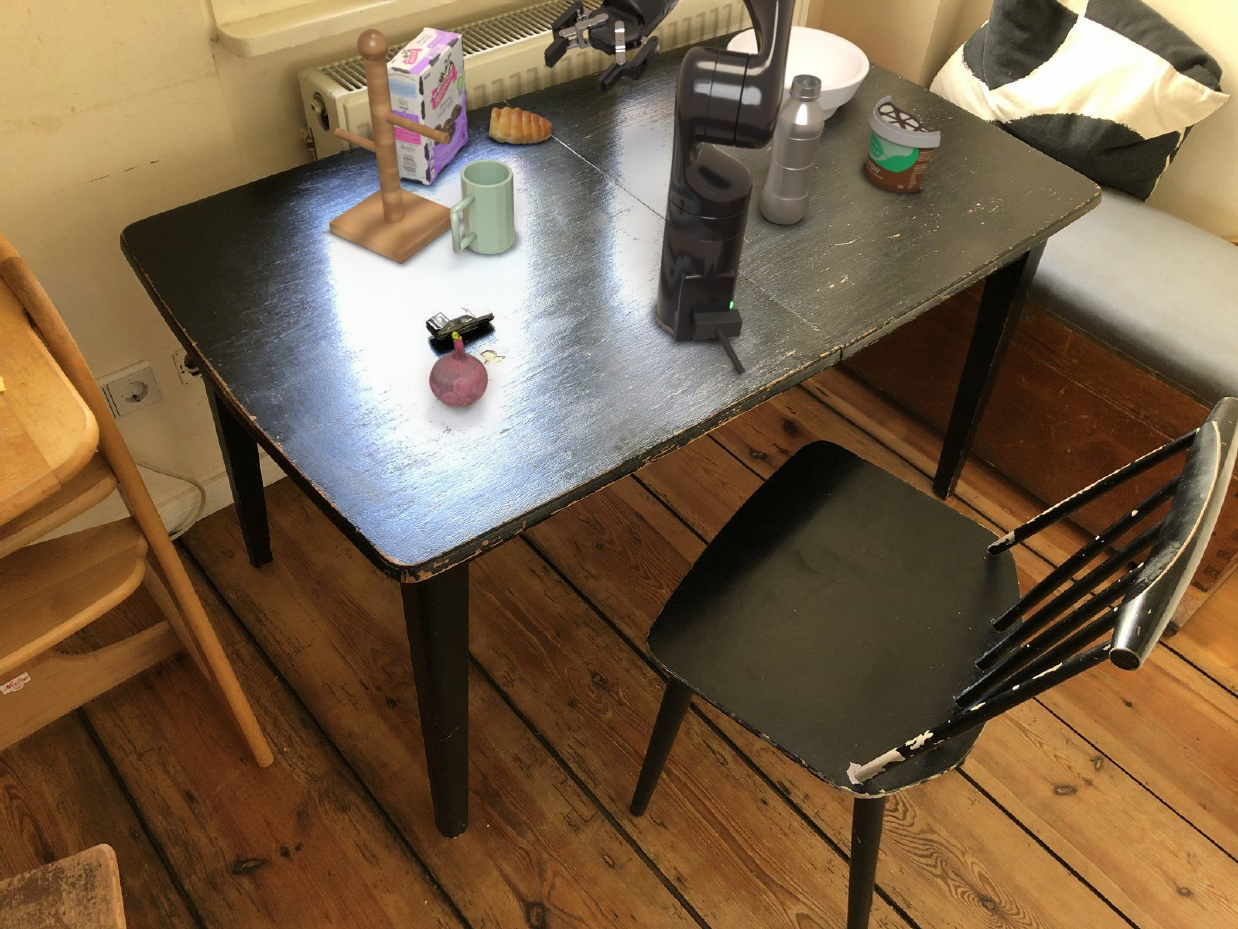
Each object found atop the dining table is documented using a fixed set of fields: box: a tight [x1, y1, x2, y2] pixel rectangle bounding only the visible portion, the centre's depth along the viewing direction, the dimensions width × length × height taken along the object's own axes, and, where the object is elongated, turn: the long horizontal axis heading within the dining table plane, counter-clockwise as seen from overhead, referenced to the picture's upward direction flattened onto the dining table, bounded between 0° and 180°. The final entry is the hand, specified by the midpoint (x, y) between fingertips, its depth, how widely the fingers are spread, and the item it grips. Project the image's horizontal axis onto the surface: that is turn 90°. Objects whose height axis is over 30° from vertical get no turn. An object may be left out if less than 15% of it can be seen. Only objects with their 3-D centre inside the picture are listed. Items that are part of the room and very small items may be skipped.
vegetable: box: [428, 331, 489, 408], centre depth 108 cm, size 6×6×10 cm
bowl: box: [726, 25, 870, 121], centre depth 161 cm, size 22×22×8 cm
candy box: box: [386, 26, 470, 186], centre depth 140 cm, size 14×6×16 cm, turn 162°
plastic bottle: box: [759, 74, 825, 226], centre depth 134 cm, size 6×7×20 cm
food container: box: [864, 94, 942, 193], centre depth 146 cm, size 12×6×10 cm, turn 27°
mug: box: [450, 158, 516, 255], centre depth 128 cm, size 11×6×10 cm, turn 149°
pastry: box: [488, 106, 553, 145], centre depth 151 cm, size 9×7×4 cm
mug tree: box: [328, 28, 460, 264], centre depth 124 cm, size 18×12×26 cm, turn 59°
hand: (572, 75), depth 132 cm, fingers open, 8 cm apart
